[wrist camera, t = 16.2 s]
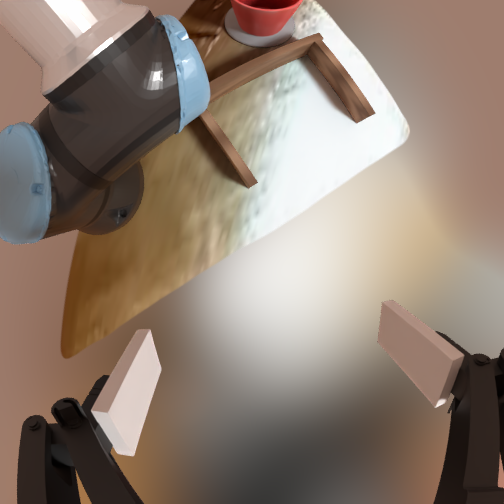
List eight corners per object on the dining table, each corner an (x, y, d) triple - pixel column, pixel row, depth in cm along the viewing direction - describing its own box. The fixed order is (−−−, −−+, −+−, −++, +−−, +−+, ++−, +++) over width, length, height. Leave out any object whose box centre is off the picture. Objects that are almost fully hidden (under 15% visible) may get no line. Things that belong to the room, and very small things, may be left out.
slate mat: (225, 48, 35) (225, 47, 34) (224, 2, 33) (224, 0, 32) (298, 49, 36) (298, 47, 35) (290, 3, 33) (290, 1, 33)
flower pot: (229, 1, 32) (229, -32, 23) (290, 5, 33) (301, -27, 23) (226, 42, 34) (225, 9, 25) (293, 46, 35) (307, 15, 26)
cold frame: (364, 119, 39) (378, 111, 34) (244, 190, 40) (246, 189, 35) (310, 46, 36) (318, 32, 31) (188, 109, 37) (182, 98, 32)
